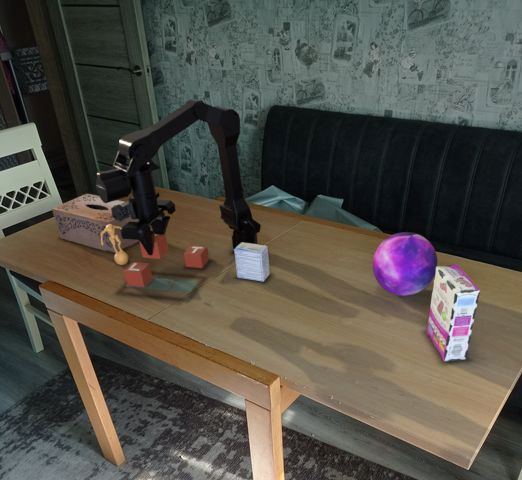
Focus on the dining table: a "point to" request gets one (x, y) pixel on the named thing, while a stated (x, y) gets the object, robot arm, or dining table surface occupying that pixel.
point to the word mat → (166, 283)
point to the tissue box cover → (90, 222)
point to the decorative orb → (404, 263)
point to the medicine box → (252, 261)
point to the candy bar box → (452, 312)
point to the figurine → (120, 256)
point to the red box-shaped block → (157, 247)
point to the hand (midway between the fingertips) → (155, 250)
